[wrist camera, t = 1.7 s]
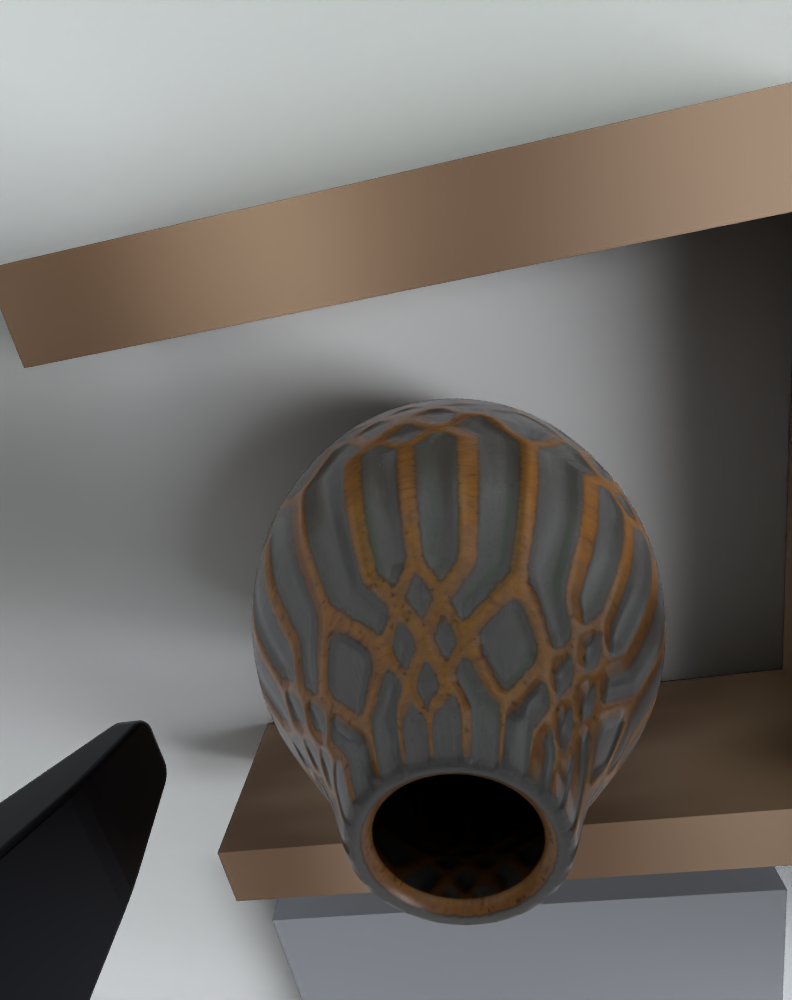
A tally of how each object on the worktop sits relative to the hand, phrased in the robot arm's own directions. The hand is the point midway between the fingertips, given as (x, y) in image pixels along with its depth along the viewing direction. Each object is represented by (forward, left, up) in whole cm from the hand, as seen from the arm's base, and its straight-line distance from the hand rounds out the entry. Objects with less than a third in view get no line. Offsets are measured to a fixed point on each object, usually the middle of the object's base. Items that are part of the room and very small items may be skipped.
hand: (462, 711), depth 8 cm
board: (0, +18, -7) cm, 19 cm away
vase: (0, 0, -7) cm, 7 cm away
